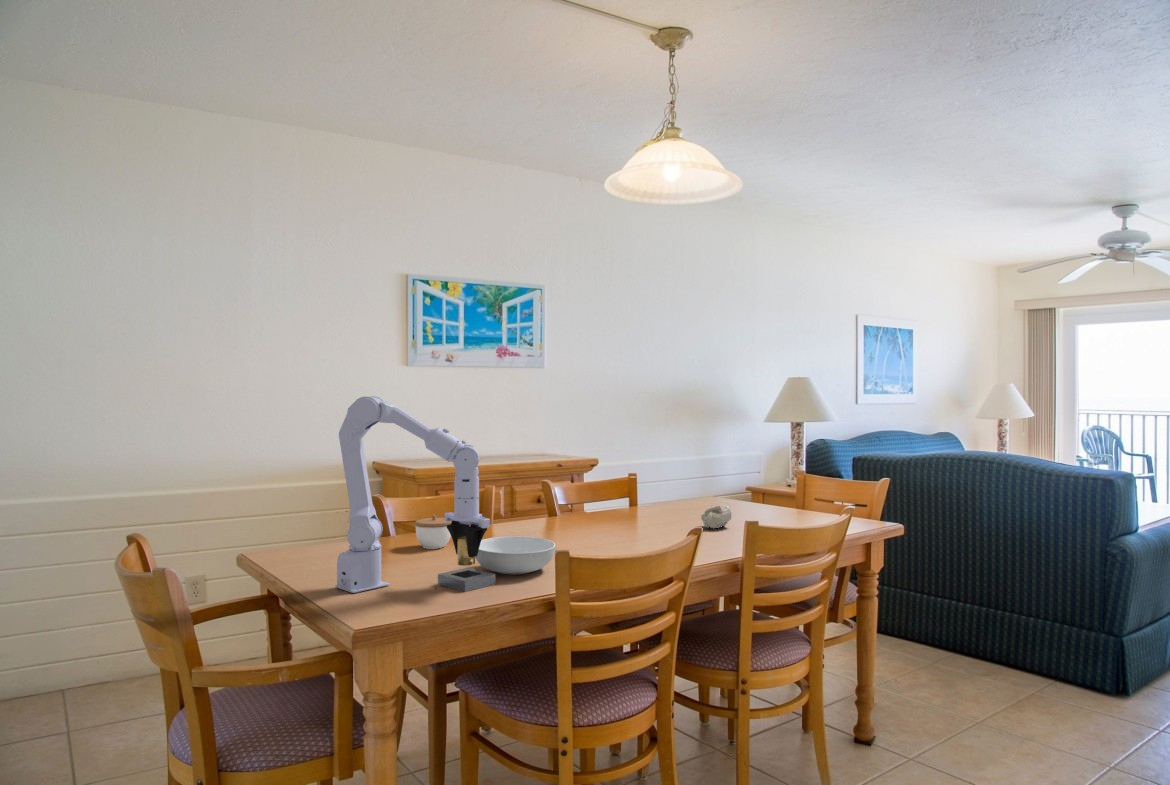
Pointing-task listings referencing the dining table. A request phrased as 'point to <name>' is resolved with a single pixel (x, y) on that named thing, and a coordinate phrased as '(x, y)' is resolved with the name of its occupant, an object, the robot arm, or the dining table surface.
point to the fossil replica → (717, 516)
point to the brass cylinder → (464, 552)
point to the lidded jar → (432, 532)
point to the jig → (466, 579)
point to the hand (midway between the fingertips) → (466, 555)
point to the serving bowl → (515, 554)
